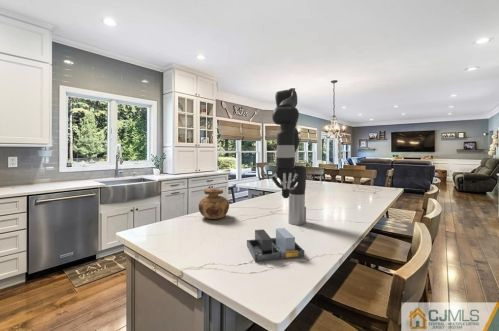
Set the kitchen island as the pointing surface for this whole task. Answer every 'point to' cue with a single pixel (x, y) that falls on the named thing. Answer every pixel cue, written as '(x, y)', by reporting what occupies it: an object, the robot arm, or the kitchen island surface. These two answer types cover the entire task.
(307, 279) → the kitchen island surface
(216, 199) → the clay pot
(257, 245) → the dark grey tray
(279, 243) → the panel
